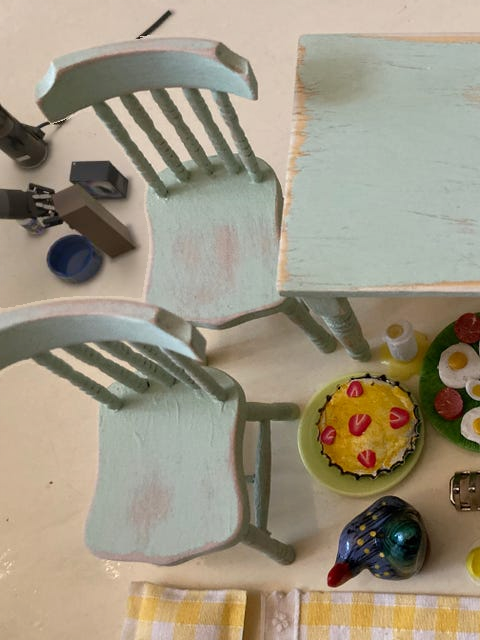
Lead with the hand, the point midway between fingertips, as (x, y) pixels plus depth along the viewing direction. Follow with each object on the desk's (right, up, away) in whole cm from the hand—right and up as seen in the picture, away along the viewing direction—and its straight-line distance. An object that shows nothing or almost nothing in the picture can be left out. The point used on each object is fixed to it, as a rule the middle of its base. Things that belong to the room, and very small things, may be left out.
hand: (76, 207), depth 185 cm
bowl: (-2, -14, +5) cm, 15 cm away
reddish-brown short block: (-2, -2, +5) cm, 5 cm away
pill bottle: (-16, -4, +9) cm, 19 cm away
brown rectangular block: (+8, -9, +7) cm, 14 cm away
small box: (+3, +7, +12) cm, 14 cm away
